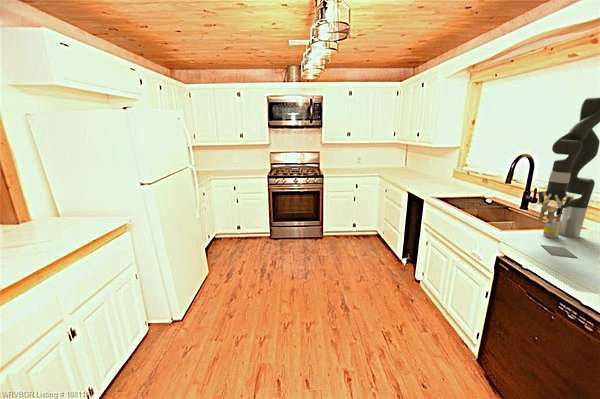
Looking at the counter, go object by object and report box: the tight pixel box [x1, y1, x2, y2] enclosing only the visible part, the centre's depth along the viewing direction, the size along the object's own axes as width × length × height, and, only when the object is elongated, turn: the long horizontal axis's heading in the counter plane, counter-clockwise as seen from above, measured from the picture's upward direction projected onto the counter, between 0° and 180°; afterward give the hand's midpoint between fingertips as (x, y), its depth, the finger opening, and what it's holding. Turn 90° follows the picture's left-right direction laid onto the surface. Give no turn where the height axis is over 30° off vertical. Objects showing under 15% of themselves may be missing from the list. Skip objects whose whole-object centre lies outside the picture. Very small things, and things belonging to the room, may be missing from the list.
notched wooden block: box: [538, 203, 564, 224], centre depth 148 cm, size 5×8×8 cm
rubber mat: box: [540, 244, 578, 259], centre depth 145 cm, size 12×10×1 cm
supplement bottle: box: [542, 213, 562, 239], centre depth 163 cm, size 7×7×13 cm
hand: (551, 213), depth 148 cm, fingers closed on notched wooden block, 5 cm apart
